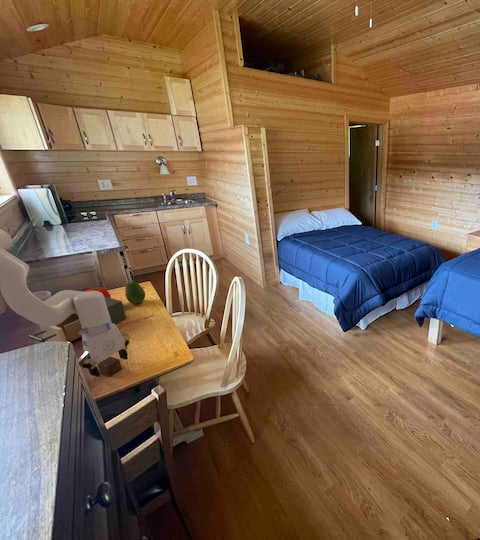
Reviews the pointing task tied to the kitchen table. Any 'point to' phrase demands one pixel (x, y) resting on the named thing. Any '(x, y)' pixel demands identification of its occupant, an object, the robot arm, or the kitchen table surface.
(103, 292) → the tomato
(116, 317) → the cabinet
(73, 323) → the drawer
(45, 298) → the cup
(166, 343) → the kitchen table surface
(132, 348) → the kitchen table surface
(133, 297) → the fruit
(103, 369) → the block
